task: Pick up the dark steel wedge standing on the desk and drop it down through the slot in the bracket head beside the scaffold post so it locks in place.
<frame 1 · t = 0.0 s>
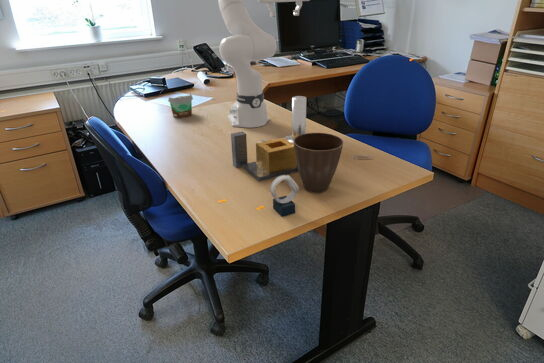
hand: (284, 16, 137), 48 cm above the table, tool pointing down, fingers open, 8 cm apart
plant pot: (316, 188, 126), on the table
wedge: (240, 165, 142), on the table
food container: (184, 116, 193), on the table
scaffold node: (276, 168, 139), on the table
watch: (284, 211, 113), on the table
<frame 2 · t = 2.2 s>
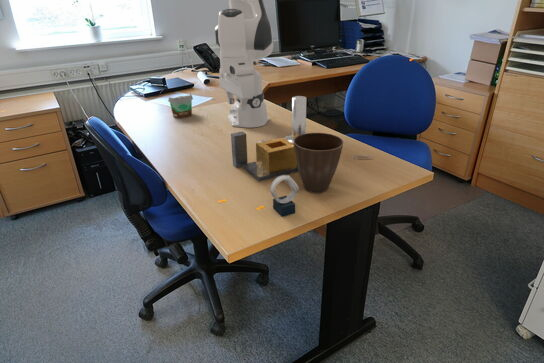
hand: (236, 106, 132), 22 cm above the table, tool pointing down, fingers open, 8 cm apart
nothing on the table moved.
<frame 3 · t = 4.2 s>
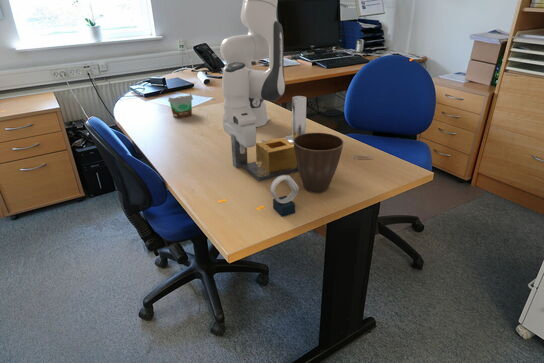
hand: (239, 150, 139), 6 cm above the table, tool pointing down, fingers closed on wedge, 3 cm apart
wedge: (240, 165, 141), on the table, touching gripper
everything else where it was.
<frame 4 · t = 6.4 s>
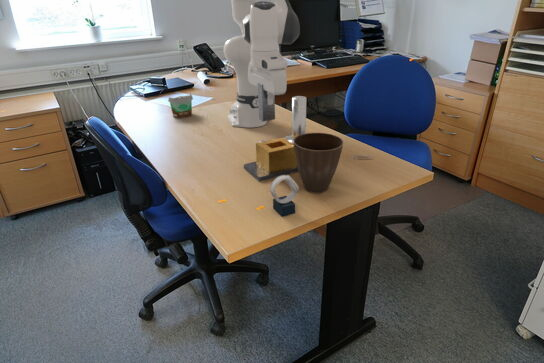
hand: (266, 102, 128), 24 cm above the table, tool pointing down, fingers closed on wedge, 3 cm apart
wedge: (267, 119, 131), point 18 cm above the table, touching gripper
everything else where it was.
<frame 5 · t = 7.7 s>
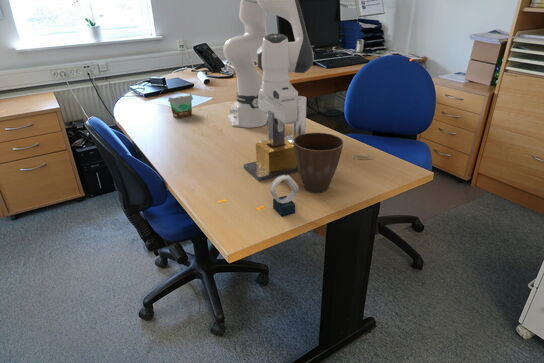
hand: (276, 129, 132), 15 cm above the table, tool pointing down, fingers closed on wedge, 3 cm apart
wedge: (276, 144, 135), point 9 cm above the table, touching gripper
everything else where it was.
when the fingers open (12 cm above the table, at t = 8.5 s): wedge drops 4 cm, resting on scaffold node.
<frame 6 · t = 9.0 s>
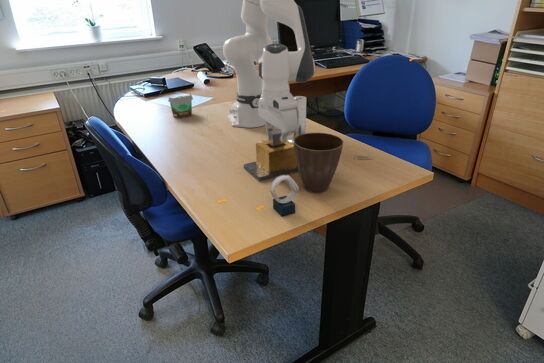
hand: (276, 137, 133), 12 cm above the table, tool pointing down, fingers open, 8 cm apart
wedge: (276, 164, 138), point 1 cm above the table, touching scaffold node
everything else where it was.
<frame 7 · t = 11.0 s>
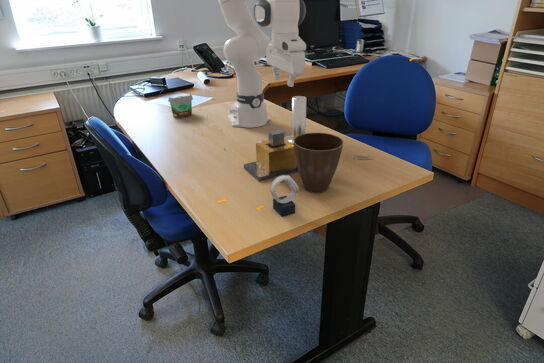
hand: (283, 82, 136), 27 cm above the table, tool pointing down, fingers open, 8 cm apart
nothing on the table moved.
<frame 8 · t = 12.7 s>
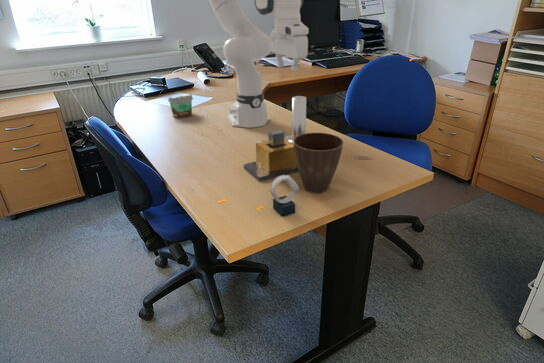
hand: (287, 68, 140), 31 cm above the table, tool pointing down, fingers open, 8 cm apart
nothing on the table moved.
at the end: wedge 0.0 cm off-centre on the scaffold node, point 1.5 cm above the scaffold node's base; wedge tilted 0°; the gripper is holding nothing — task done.
